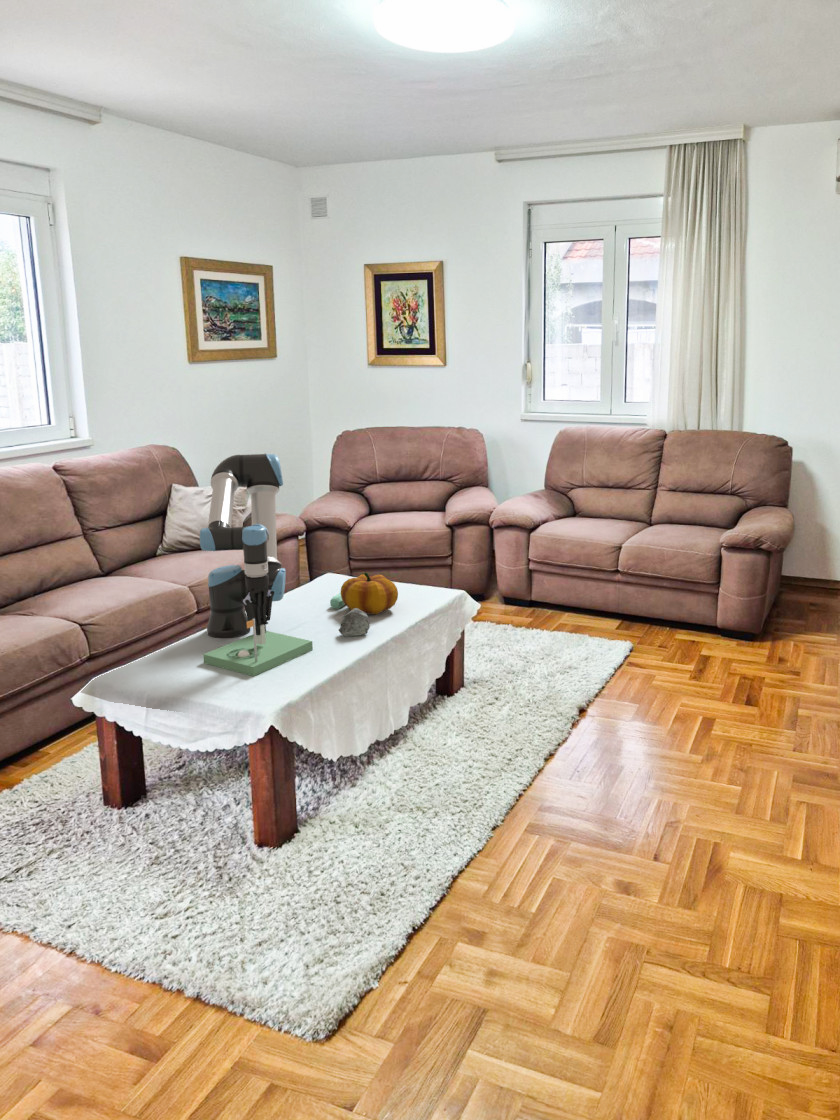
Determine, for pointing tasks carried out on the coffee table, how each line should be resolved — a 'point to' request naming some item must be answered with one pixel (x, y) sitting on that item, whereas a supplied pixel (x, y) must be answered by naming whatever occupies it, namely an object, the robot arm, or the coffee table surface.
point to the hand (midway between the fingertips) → (261, 643)
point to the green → (258, 652)
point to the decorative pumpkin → (369, 593)
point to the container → (337, 602)
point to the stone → (354, 623)
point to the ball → (243, 653)
